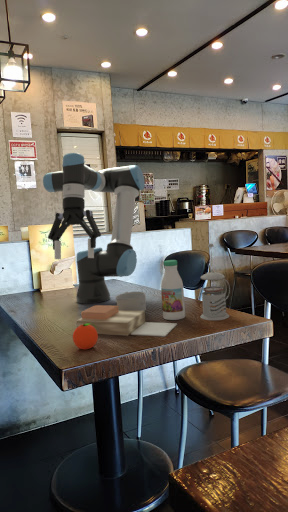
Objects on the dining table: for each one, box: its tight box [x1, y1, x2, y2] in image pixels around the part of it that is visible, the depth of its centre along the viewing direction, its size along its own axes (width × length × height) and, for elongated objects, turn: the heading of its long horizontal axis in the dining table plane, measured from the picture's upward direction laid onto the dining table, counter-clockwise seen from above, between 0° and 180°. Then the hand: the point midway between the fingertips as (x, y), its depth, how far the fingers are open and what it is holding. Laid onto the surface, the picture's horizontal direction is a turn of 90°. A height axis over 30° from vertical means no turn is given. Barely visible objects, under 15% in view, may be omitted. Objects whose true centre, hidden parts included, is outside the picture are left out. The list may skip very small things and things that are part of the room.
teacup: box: [115, 291, 147, 311], centre depth 137 cm, size 14×11×8 cm
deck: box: [75, 310, 146, 336], centre depth 122 cm, size 14×18×4 cm
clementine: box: [72, 323, 99, 350], centre depth 104 cm, size 8×7×7 cm
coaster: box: [80, 304, 119, 320], centre depth 123 cm, size 9×9×2 cm
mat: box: [130, 321, 178, 337], centre depth 117 cm, size 12×11×1 cm
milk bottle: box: [160, 259, 186, 321], centre depth 128 cm, size 8×8×20 cm
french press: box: [199, 243, 231, 321], centre depth 126 cm, size 10×12×25 cm
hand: (74, 258), depth 129 cm, fingers open, 13 cm apart
